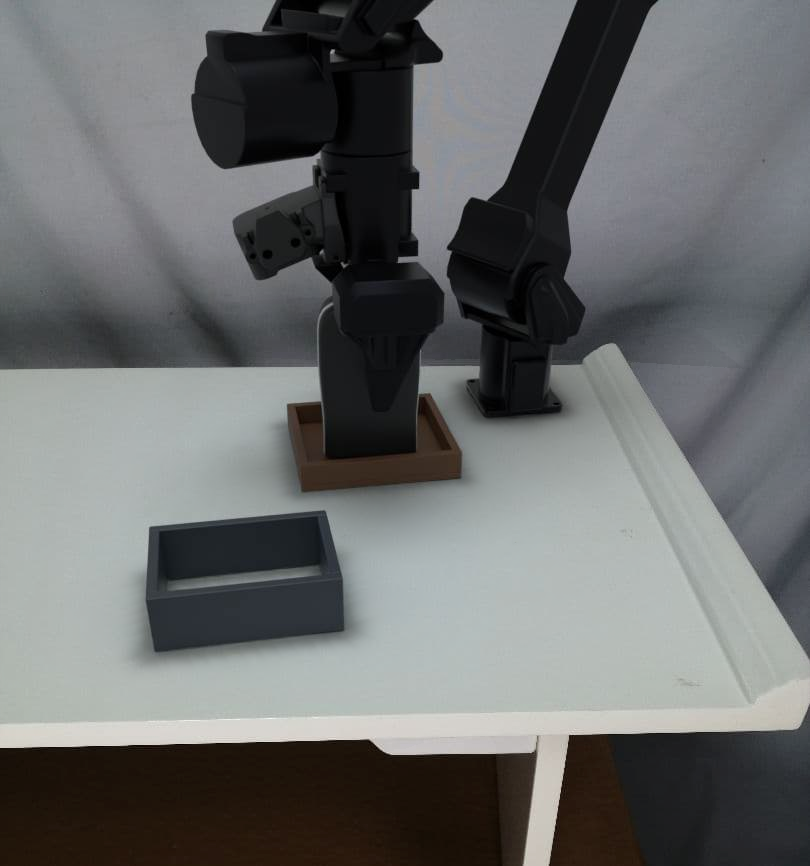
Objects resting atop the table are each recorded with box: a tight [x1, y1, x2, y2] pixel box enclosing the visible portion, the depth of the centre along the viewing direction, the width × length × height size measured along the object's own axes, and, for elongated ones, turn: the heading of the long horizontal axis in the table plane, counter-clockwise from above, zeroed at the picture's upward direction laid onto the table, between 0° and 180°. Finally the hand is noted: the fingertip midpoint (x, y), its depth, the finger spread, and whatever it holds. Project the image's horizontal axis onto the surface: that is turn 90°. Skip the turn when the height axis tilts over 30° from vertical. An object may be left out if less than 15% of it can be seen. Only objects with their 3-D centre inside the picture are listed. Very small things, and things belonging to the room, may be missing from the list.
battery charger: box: [316, 295, 422, 458], centre depth 66 cm, size 7×4×11 cm, turn 95°
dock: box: [145, 509, 345, 653], centre depth 53 cm, size 7×10×4 cm
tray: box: [286, 392, 463, 493], centre depth 69 cm, size 10×11×2 cm
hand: (369, 383), depth 67 cm, fingers open, 9 cm apart
